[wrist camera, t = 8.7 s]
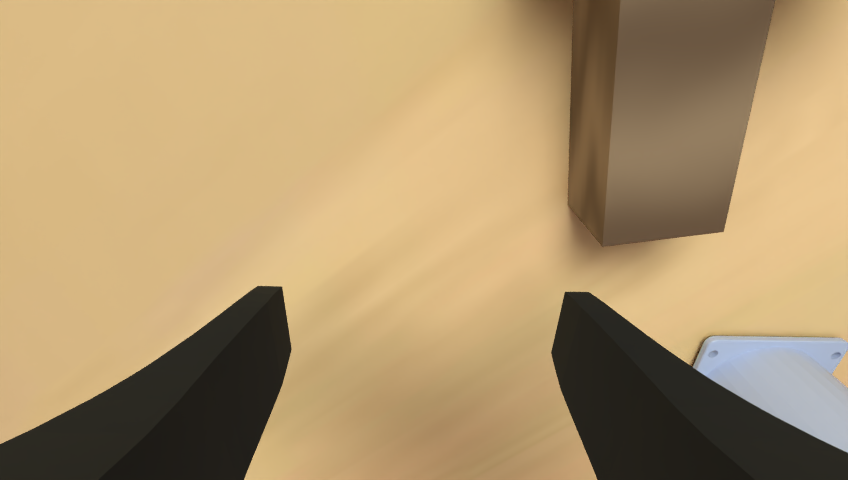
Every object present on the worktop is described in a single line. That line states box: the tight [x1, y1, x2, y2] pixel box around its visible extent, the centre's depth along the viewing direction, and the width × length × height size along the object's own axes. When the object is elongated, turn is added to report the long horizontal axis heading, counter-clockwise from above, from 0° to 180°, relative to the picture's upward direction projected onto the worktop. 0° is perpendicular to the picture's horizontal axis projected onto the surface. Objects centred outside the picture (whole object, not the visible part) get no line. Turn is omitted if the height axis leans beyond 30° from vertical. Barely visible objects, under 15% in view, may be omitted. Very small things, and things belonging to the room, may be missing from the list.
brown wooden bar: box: [568, 0, 775, 247], centre depth 15 cm, size 14×4×4 cm, turn 8°
